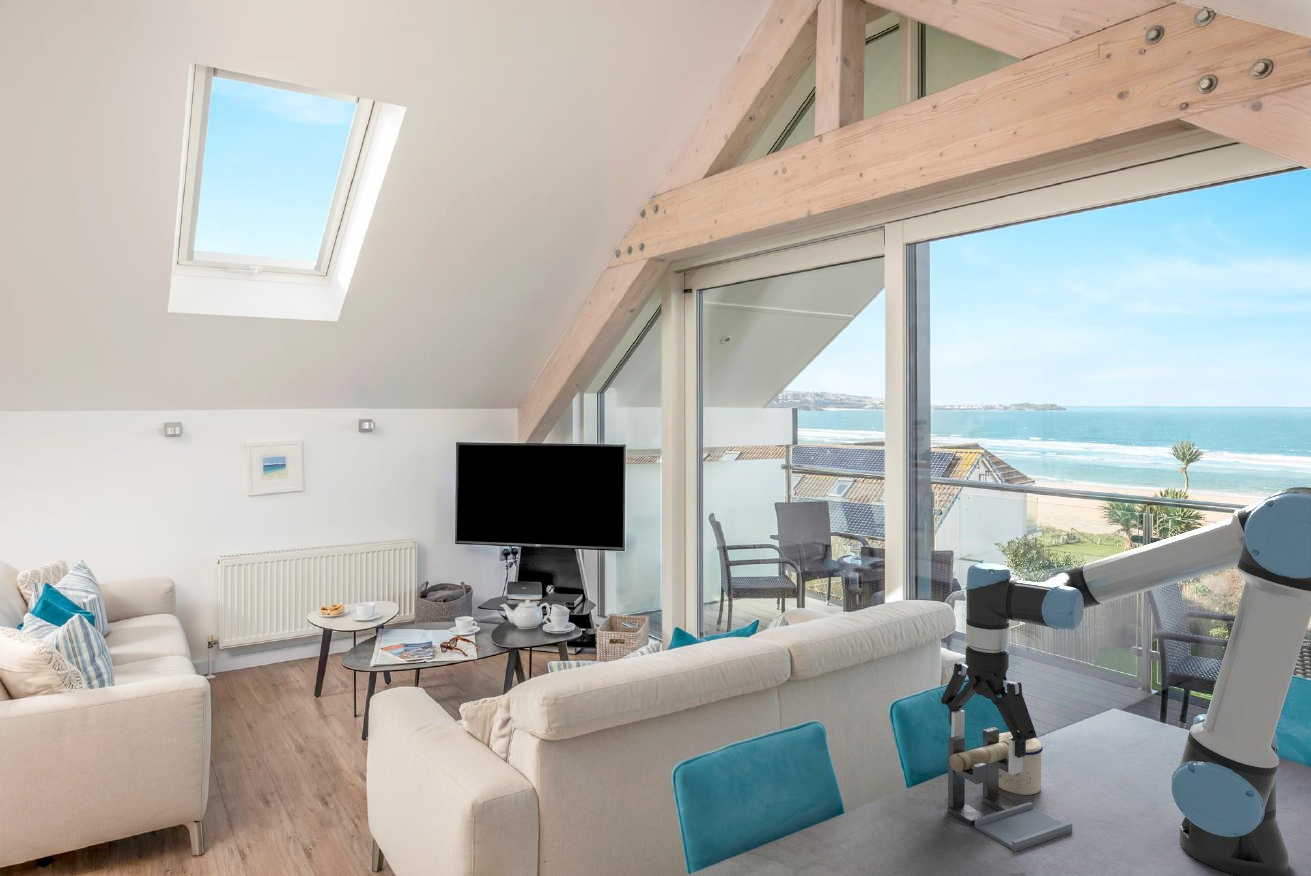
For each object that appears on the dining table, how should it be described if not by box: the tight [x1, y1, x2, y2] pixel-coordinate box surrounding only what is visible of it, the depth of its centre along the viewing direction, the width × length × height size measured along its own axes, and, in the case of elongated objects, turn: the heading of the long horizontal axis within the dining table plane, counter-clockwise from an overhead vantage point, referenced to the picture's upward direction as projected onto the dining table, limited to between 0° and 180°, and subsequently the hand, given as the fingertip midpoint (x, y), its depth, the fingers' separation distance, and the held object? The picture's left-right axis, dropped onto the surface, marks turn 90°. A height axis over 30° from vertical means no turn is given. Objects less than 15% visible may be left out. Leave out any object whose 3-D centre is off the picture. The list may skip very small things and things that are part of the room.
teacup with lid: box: [999, 730, 1044, 796], centre depth 164 cm, size 12×9×12 cm
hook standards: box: [947, 726, 1021, 827], centre depth 154 cm, size 6×13×14 cm, turn 116°
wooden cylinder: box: [949, 741, 1009, 772], centre depth 154 cm, size 14×3×3 cm, turn 116°
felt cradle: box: [974, 801, 1073, 852], centre depth 147 cm, size 9×14×2 cm, turn 116°
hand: (985, 758), depth 153 cm, fingers open, 13 cm apart
